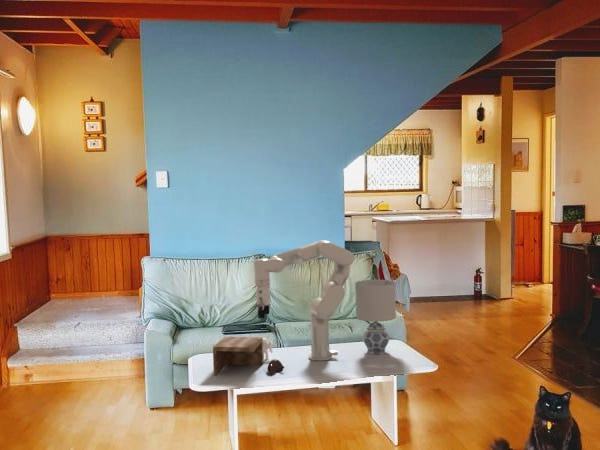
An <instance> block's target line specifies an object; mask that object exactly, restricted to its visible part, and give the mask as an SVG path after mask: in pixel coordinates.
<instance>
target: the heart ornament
mask: <svg viewBox="0 0 600 450" xmlns="http://www.w3.org/2000/svg"><path fill="white" fill-rule="evenodd" d="M283 369H285V366H284V364H283V363H282V362H281V361H280V360H279V359H273V358H272V359H271V360H270V361H269V362H268V365H267V373H268V374H269V375H270V376H275V375H276V372H279V371H281V370H283Z"/></svg>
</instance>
